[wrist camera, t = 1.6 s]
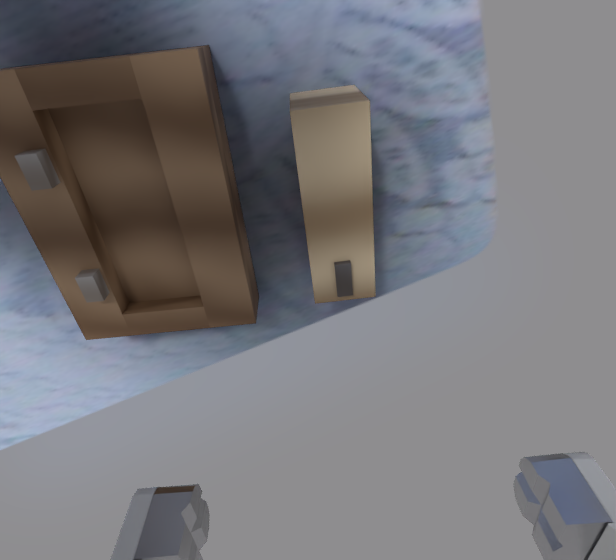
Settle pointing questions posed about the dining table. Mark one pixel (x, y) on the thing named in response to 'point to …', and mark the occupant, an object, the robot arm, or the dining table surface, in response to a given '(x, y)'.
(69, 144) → the frame
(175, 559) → the robot arm
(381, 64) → the dining table surface
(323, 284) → the door
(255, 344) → the dining table surface
